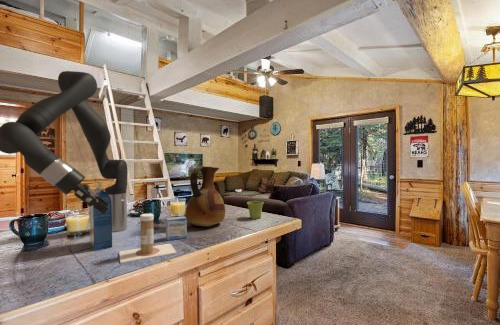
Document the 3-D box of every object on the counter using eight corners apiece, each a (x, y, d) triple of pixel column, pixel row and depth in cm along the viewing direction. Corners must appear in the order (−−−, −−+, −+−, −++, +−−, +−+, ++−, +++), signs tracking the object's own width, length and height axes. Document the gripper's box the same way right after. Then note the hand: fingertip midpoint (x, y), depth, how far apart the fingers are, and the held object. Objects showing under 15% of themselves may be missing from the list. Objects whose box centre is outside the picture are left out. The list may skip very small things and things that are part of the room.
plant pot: (245, 219, 143) (245, 203, 143) (248, 215, 152) (248, 200, 152) (262, 220, 141) (262, 204, 141) (264, 216, 151) (264, 201, 150)
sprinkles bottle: (137, 252, 93) (137, 214, 93) (149, 248, 97) (149, 212, 97) (144, 255, 90) (144, 216, 90) (156, 251, 94) (156, 214, 94)
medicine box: (167, 241, 107) (167, 220, 107) (165, 238, 111) (165, 217, 111) (187, 238, 111) (186, 217, 111) (184, 235, 115) (184, 215, 115)
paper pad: (119, 252, 95) (119, 251, 95) (170, 244, 103) (170, 243, 103) (120, 263, 85) (120, 261, 85) (176, 253, 93) (176, 251, 93)
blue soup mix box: (93, 251, 96) (92, 183, 96) (89, 242, 106) (88, 180, 105) (112, 247, 100) (111, 182, 100) (107, 239, 110) (106, 180, 109)
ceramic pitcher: (232, 222, 136) (232, 165, 135) (206, 232, 119) (206, 166, 118) (204, 218, 147) (204, 164, 146) (176, 226, 130) (176, 166, 129)
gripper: (70, 168, 77) (115, 203, 83) (75, 166, 89) (114, 197, 95) (48, 187, 74) (96, 222, 80) (57, 182, 87) (98, 213, 93)
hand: (106, 208), depth 88 cm, fingers open, 8 cm apart
